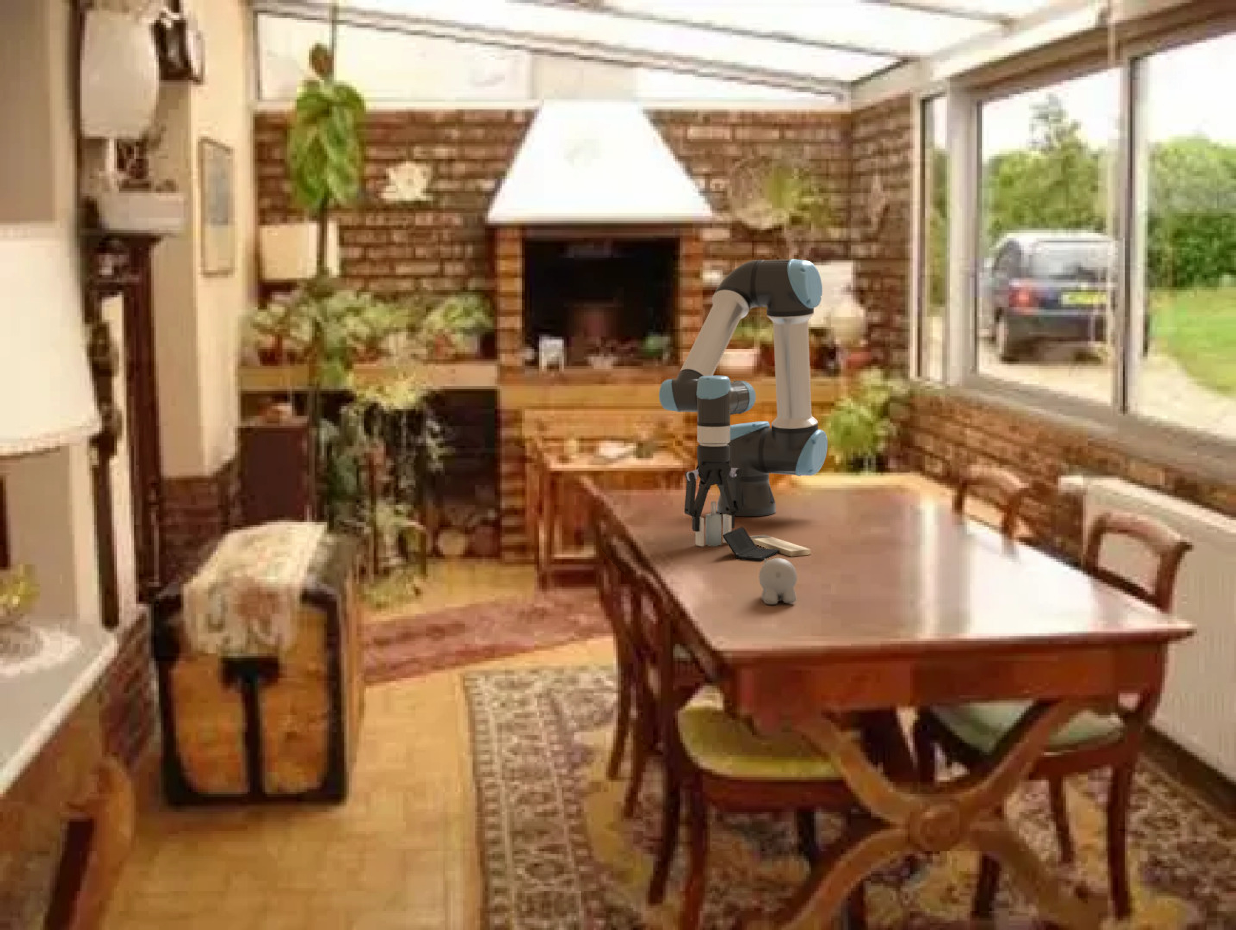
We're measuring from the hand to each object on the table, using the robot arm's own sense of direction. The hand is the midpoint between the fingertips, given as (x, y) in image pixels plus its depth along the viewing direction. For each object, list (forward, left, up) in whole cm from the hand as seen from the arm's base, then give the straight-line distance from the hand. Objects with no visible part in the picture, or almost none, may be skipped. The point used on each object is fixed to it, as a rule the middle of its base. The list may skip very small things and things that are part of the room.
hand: (713, 543), depth 353 cm
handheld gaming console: (-2, +15, -1) cm, 15 cm away
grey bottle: (0, 0, 0) cm, 0 cm away
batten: (-11, +10, 0) cm, 15 cm away
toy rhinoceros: (+16, +55, -1) cm, 57 cm away
